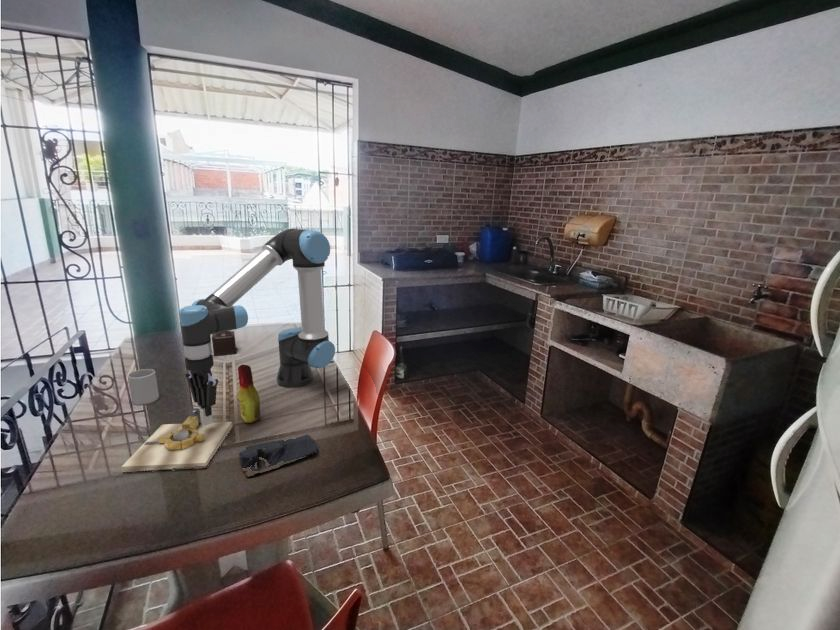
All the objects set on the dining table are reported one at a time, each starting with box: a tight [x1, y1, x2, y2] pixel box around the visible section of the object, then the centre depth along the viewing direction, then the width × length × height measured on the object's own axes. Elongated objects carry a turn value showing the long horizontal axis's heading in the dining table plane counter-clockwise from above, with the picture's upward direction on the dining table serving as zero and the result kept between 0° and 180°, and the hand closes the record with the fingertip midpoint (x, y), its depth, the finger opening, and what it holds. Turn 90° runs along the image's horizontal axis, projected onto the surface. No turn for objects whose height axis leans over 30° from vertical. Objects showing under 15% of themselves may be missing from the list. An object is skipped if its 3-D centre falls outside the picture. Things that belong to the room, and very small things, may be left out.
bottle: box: [237, 364, 261, 424], centre depth 136 cm, size 12×6×20 cm, turn 34°
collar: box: [158, 407, 204, 450], centre depth 122 cm, size 12×16×5 cm
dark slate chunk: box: [238, 434, 318, 471], centre depth 118 cm, size 15×22×5 cm
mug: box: [127, 368, 160, 406], centre depth 149 cm, size 12×8×11 cm
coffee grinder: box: [211, 330, 238, 357], centre depth 199 cm, size 16×11×18 cm
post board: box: [121, 421, 234, 473], centre depth 119 cm, size 22×22×5 cm
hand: (207, 423), depth 126 cm, fingers closed
